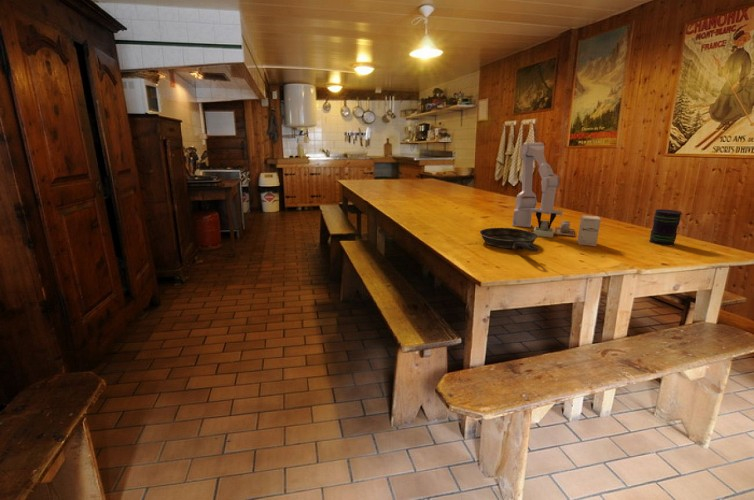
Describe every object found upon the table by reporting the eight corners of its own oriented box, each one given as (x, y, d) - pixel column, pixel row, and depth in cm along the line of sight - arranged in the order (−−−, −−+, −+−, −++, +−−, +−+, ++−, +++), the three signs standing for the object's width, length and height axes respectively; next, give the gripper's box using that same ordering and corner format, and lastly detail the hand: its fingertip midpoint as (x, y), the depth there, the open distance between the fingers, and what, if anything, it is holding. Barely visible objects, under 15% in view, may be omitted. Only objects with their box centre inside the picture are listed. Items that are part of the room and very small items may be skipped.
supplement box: (578, 245, 181) (582, 217, 178) (577, 241, 188) (581, 214, 184) (596, 246, 179) (601, 219, 175) (594, 242, 185) (599, 216, 182)
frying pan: (473, 236, 194) (474, 223, 192) (525, 237, 194) (526, 224, 192) (498, 265, 152) (500, 248, 150) (564, 266, 152) (567, 249, 150)
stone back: (560, 230, 206) (561, 221, 205) (560, 228, 210) (561, 220, 209) (568, 231, 205) (569, 222, 204) (568, 229, 208) (569, 221, 207)
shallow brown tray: (554, 235, 198) (554, 233, 198) (555, 228, 212) (555, 227, 212) (574, 237, 195) (574, 235, 195) (573, 230, 209) (574, 228, 209)
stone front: (539, 230, 198) (540, 221, 196) (540, 228, 201) (541, 220, 200) (547, 231, 196) (549, 222, 195) (548, 229, 199) (549, 220, 198)
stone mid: (560, 232, 203) (561, 223, 201) (560, 230, 206) (561, 222, 205) (568, 233, 201) (570, 224, 200) (568, 231, 204) (569, 222, 203)
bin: (533, 235, 197) (533, 230, 196) (534, 231, 205) (535, 226, 204) (552, 237, 193) (553, 232, 193) (553, 233, 201) (554, 228, 200)
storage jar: (676, 242, 186) (683, 211, 182) (672, 246, 180) (680, 214, 175) (651, 239, 193) (657, 208, 189) (646, 242, 186) (653, 211, 182)
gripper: (531, 200, 194) (528, 228, 198) (563, 203, 188) (559, 231, 192) (532, 198, 200) (529, 225, 204) (564, 201, 194) (560, 228, 198)
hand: (544, 228), depth 198 cm, fingers closed on stone front, 4 cm apart
